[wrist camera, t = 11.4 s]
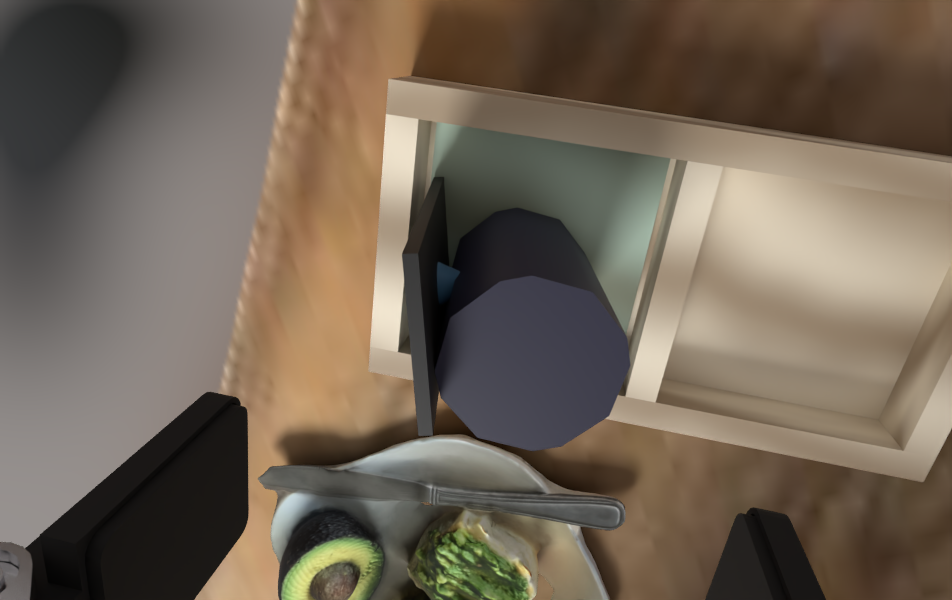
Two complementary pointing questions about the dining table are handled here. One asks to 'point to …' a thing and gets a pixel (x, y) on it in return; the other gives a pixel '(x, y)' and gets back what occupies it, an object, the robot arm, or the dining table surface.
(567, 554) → the avocado toast plate
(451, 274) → the speaker
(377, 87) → the dining table surface
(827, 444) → the sorting tray
